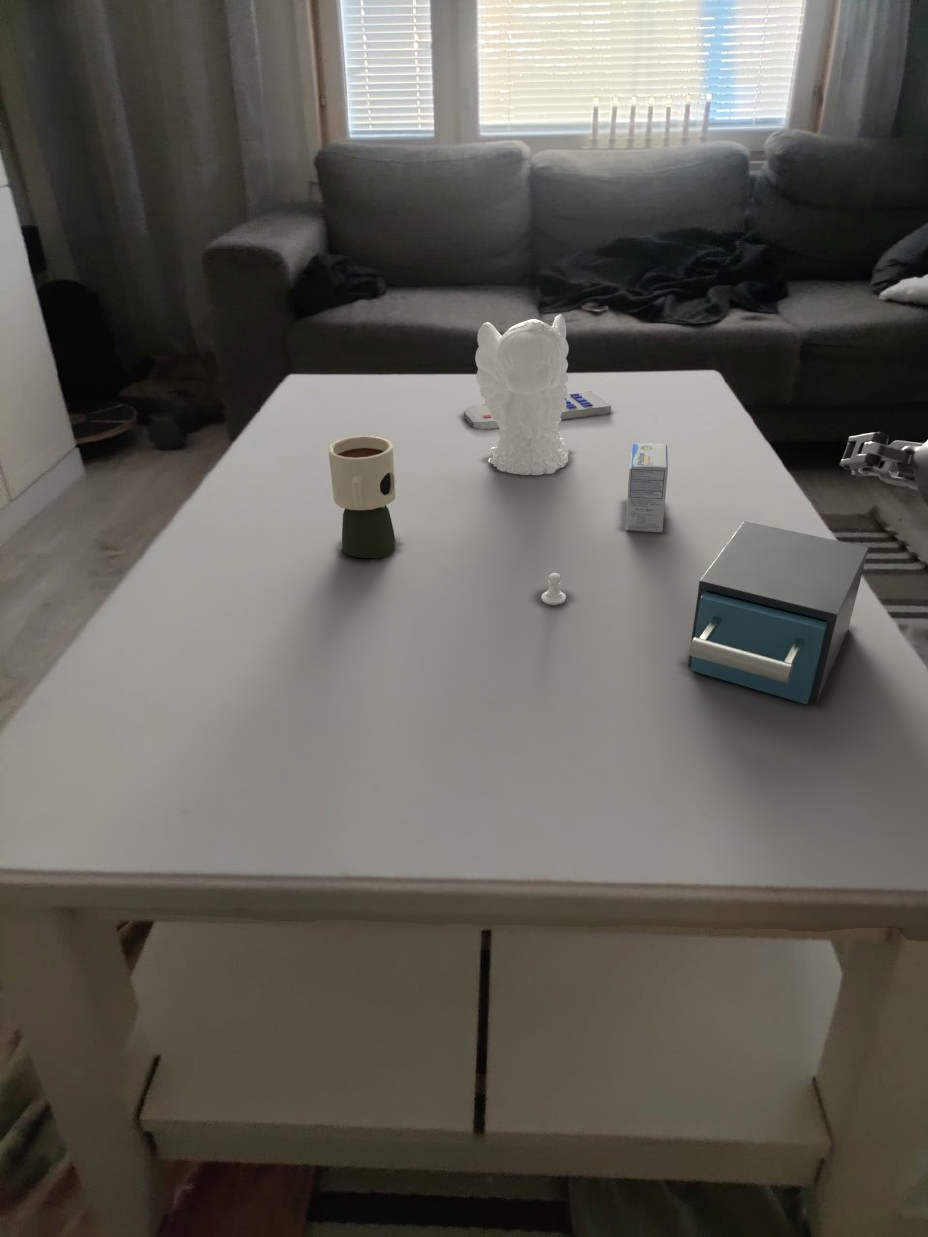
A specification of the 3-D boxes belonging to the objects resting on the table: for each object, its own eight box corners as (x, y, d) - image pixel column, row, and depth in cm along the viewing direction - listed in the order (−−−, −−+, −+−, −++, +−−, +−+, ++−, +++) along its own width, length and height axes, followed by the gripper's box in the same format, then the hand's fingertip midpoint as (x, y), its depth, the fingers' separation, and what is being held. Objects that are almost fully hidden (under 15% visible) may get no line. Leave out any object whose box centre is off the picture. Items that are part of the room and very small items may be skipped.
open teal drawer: (790, 743, 72) (807, 664, 68) (667, 704, 77) (677, 628, 73) (837, 635, 85) (855, 564, 81) (730, 608, 90) (742, 539, 86)
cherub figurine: (479, 480, 121) (476, 331, 111) (476, 446, 132) (474, 307, 121) (574, 477, 121) (581, 328, 111) (564, 444, 132) (570, 305, 121)
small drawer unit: (815, 707, 77) (837, 614, 72) (687, 670, 83) (699, 580, 78) (847, 633, 87) (868, 547, 82) (730, 604, 92) (744, 520, 87)
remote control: (610, 417, 142) (611, 404, 141) (475, 433, 136) (475, 419, 135) (590, 402, 148) (591, 389, 147) (461, 417, 143) (461, 403, 142)
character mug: (394, 574, 99) (387, 465, 92) (331, 574, 100) (319, 466, 93) (404, 530, 109) (397, 429, 102) (346, 530, 109) (336, 429, 102)
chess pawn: (549, 611, 92) (550, 582, 90) (536, 600, 94) (537, 571, 92) (570, 605, 93) (571, 576, 91) (557, 594, 95) (559, 566, 93)
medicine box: (662, 536, 106) (669, 468, 101) (624, 534, 106) (629, 466, 102) (661, 508, 112) (668, 443, 108) (625, 506, 113) (631, 441, 108)
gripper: (1117, 444, 61) (1000, 458, 77) (914, 387, 62) (841, 413, 78) (1075, 548, 62) (969, 541, 78) (876, 490, 63) (812, 495, 79)
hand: (905, 477), depth 78 cm, fingers open, 8 cm apart
